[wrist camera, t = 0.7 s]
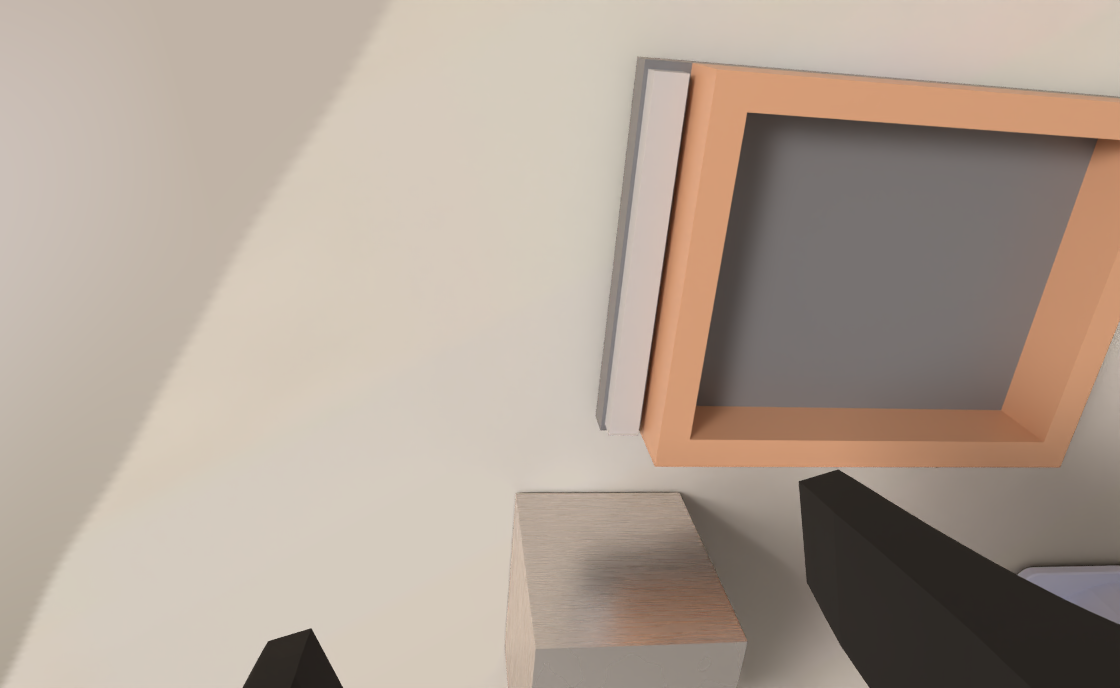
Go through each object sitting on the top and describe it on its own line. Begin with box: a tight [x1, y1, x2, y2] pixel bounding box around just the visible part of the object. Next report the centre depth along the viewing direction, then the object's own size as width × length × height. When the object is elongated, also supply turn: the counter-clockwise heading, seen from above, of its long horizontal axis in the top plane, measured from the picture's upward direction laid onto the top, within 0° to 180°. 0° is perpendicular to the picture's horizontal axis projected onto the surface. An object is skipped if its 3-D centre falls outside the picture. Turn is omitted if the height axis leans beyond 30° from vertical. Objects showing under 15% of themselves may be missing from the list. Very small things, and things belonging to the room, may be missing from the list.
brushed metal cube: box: [505, 493, 748, 688], centre depth 21 cm, size 6×5×6 cm
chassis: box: [596, 57, 1120, 467], centre depth 20 cm, size 10×14×3 cm
